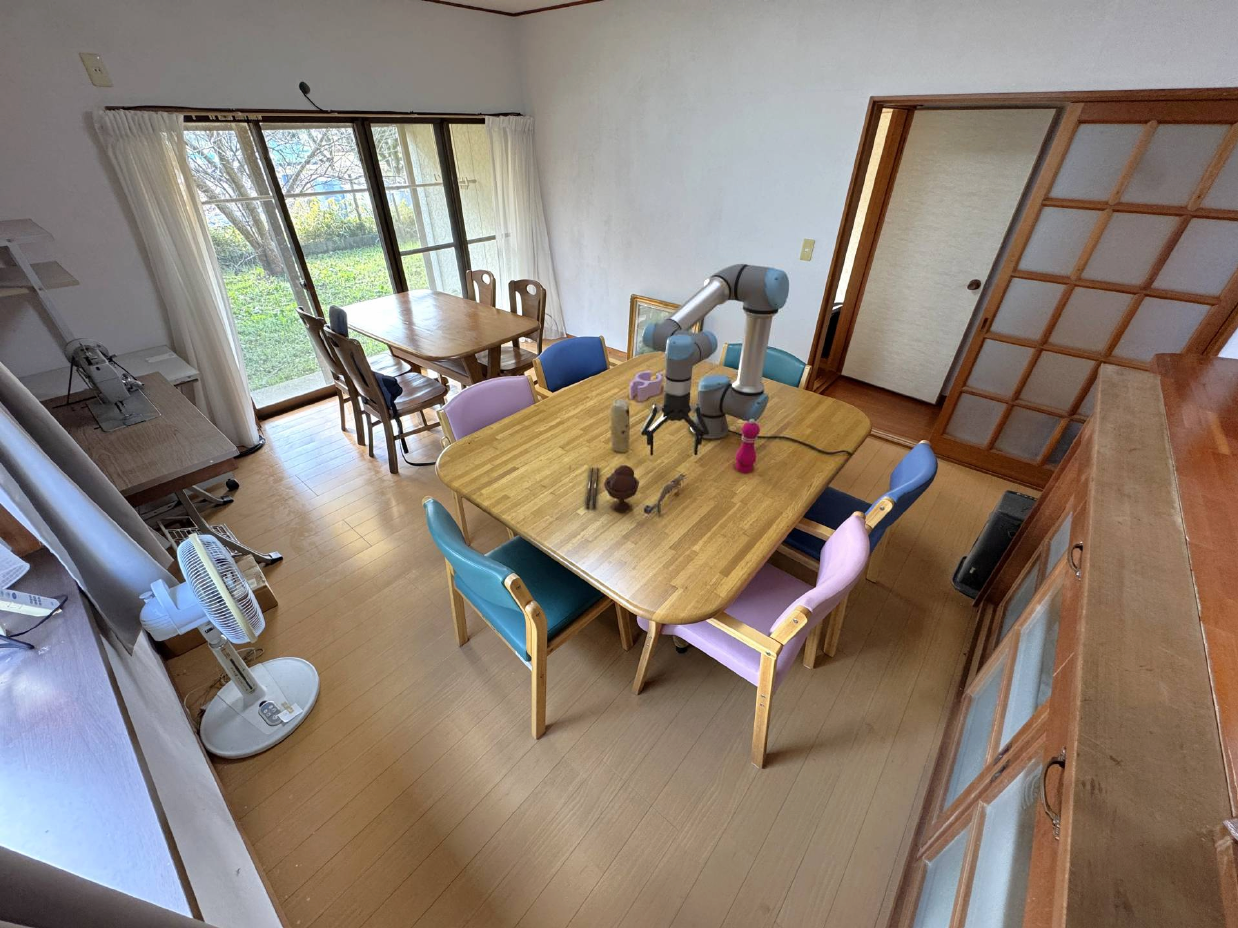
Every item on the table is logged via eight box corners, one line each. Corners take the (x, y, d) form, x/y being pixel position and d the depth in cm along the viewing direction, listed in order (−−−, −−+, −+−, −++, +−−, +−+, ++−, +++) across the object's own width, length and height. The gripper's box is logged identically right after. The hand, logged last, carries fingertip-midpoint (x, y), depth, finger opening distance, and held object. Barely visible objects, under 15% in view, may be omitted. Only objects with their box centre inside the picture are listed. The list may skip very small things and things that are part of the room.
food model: (633, 452, 183) (634, 405, 172) (617, 456, 181) (616, 408, 170) (623, 440, 190) (623, 394, 179) (607, 443, 188) (606, 397, 177)
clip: (646, 403, 217) (646, 389, 213) (622, 397, 223) (622, 383, 219) (666, 387, 231) (667, 374, 227) (644, 381, 237) (644, 368, 233)
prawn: (671, 478, 169) (672, 461, 165) (701, 489, 163) (703, 472, 159) (630, 515, 152) (631, 497, 148) (662, 529, 146) (663, 511, 143)
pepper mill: (742, 475, 170) (751, 426, 159) (729, 465, 175) (737, 417, 164) (758, 470, 173) (768, 421, 162) (745, 460, 178) (753, 412, 167)
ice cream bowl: (603, 497, 160) (602, 460, 151) (636, 496, 160) (637, 458, 152) (605, 518, 151) (604, 479, 142) (640, 516, 152) (641, 477, 143)
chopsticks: (598, 469, 174) (598, 467, 173) (595, 509, 155) (594, 507, 154) (590, 469, 174) (590, 467, 173) (586, 509, 155) (585, 507, 154)
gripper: (719, 384, 140) (712, 446, 152) (633, 385, 140) (633, 446, 152) (723, 396, 134) (715, 459, 146) (633, 397, 134) (633, 459, 146)
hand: (673, 453), depth 149 cm, fingers open, 13 cm apart
